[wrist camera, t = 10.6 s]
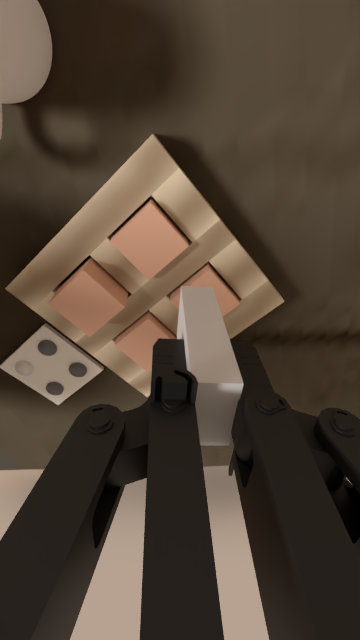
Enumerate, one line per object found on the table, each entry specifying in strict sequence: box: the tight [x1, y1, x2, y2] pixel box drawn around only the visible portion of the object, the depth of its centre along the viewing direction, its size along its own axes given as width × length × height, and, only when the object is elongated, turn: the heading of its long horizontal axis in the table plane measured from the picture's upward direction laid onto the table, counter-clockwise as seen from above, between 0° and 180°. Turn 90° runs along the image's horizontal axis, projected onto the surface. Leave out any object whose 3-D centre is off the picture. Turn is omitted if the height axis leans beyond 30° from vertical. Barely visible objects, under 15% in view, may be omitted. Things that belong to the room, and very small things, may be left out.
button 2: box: [114, 310, 177, 372], centre depth 36 cm, size 5×5×4 cm
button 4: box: [170, 261, 240, 317], centre depth 33 cm, size 5×5×4 cm
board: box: [5, 134, 285, 397], centre depth 33 cm, size 20×20×3 cm
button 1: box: [48, 257, 129, 337], centre depth 31 cm, size 5×5×4 cm
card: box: [0, 323, 104, 405], centre depth 40 cm, size 9×9×1 cm
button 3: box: [110, 196, 189, 280], centre depth 30 cm, size 5×5×4 cm
